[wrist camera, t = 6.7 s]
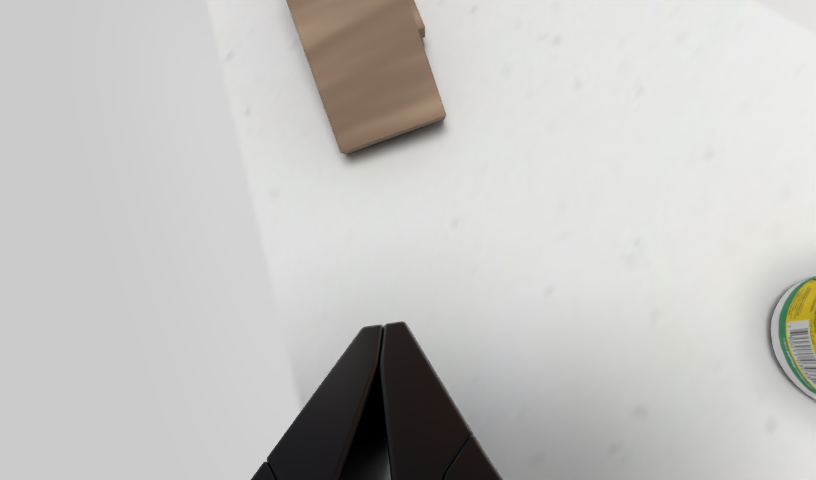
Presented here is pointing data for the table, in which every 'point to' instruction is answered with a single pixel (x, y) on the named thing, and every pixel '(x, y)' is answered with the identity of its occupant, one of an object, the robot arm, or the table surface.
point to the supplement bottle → (797, 334)
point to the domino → (368, 68)
